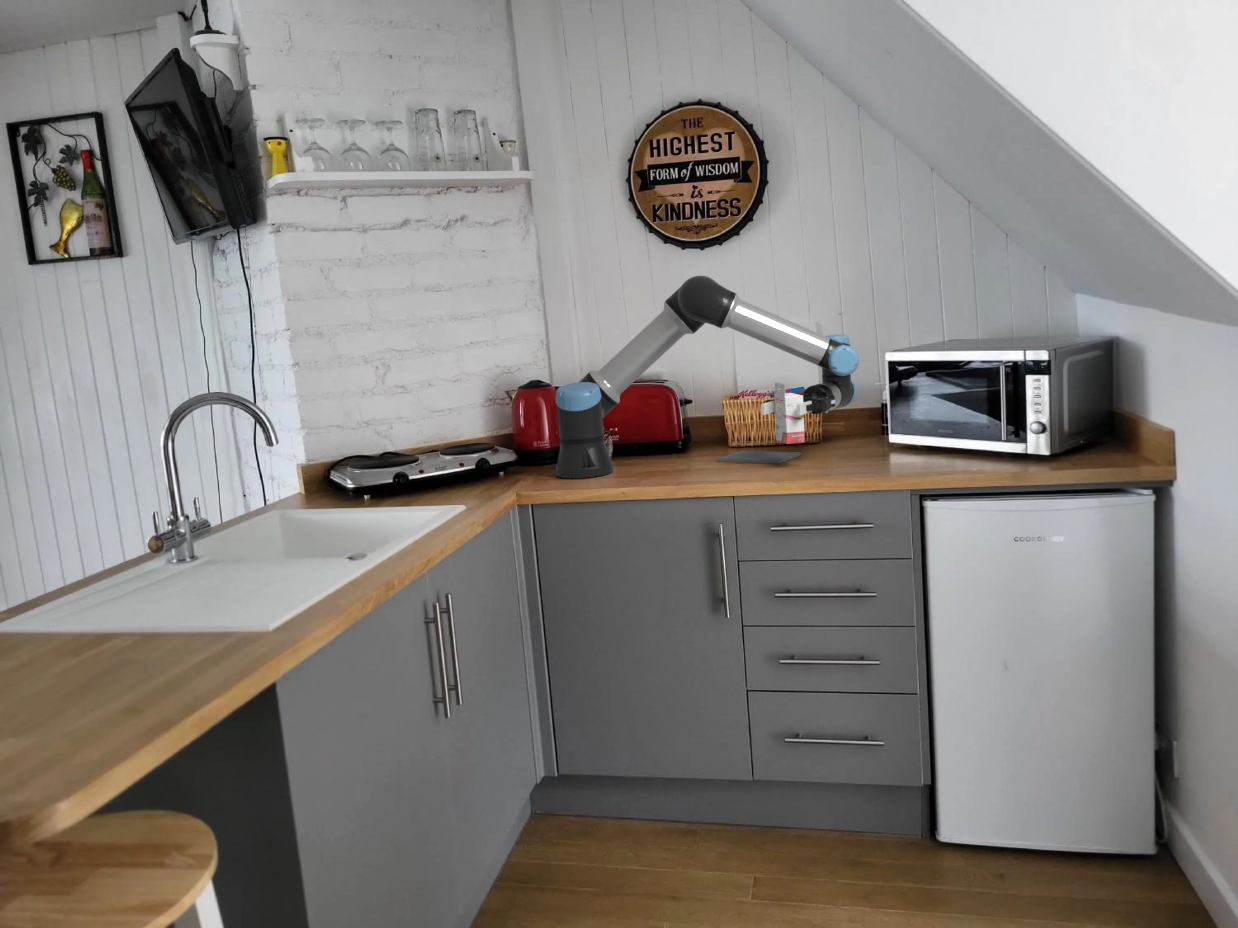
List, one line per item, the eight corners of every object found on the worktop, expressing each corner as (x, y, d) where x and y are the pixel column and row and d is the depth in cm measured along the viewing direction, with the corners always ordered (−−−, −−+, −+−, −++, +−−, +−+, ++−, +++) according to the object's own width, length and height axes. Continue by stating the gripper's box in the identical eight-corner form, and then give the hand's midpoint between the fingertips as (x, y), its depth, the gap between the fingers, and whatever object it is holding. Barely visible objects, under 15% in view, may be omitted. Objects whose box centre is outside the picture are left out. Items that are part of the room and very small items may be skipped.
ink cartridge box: (806, 442, 260) (803, 383, 257) (786, 444, 259) (784, 384, 256) (794, 438, 268) (791, 380, 265) (775, 440, 267) (772, 382, 265)
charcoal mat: (718, 461, 280) (718, 458, 280) (741, 453, 290) (740, 450, 290) (779, 463, 270) (779, 460, 270) (800, 455, 279) (800, 452, 279)
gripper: (860, 413, 270) (821, 425, 253) (784, 412, 283) (742, 424, 265) (859, 383, 269) (820, 394, 251) (782, 384, 282) (740, 394, 264)
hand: (780, 409), depth 258 cm, fingers closed on ink cartridge box, 9 cm apart
